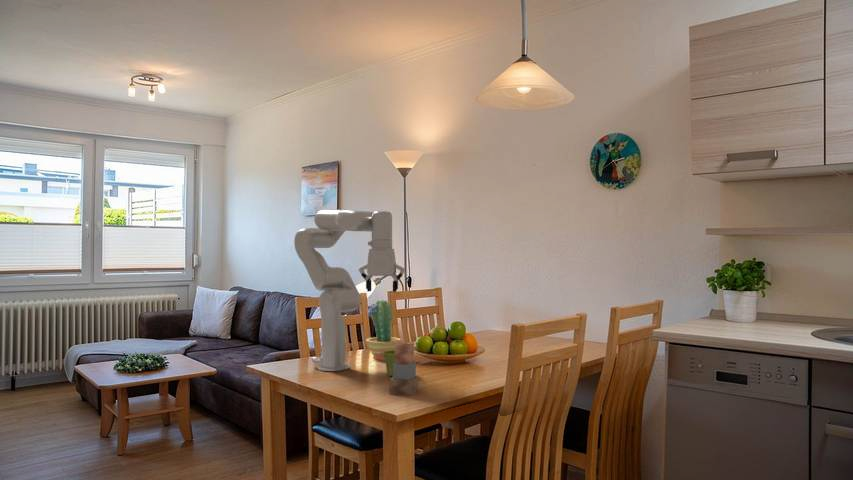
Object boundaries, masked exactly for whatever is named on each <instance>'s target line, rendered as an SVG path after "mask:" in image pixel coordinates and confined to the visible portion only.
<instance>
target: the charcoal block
mask: <svg viewBox="0 0 853 480" xmlns="http://www.w3.org/2000/svg"><path fill="white" fill-rule="evenodd" d="M416 364H417V362H416V361H414V362H412V363H411V364H395V363H394V364H393V376H392V377H393V379H400V380H411V379H413V378H414V377H415V376H416V375H417V370H416V369H417V365H416Z"/></svg>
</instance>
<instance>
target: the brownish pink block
mask: <svg viewBox="0 0 853 480" xmlns="http://www.w3.org/2000/svg"><path fill="white" fill-rule="evenodd" d="M414 345H415V344H414V343H404V342H400V343H399V344H397V345H395V364H411V363H412V362H415V355H414V353H415V349H414Z"/></svg>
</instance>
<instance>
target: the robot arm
mask: <svg viewBox="0 0 853 480" xmlns="http://www.w3.org/2000/svg"><path fill="white" fill-rule="evenodd" d="M313 221H314V224H315V226H316V227H305V228H302V229H300V230H298V231H297V232H296V233H295V236H294V240H293V243H294V249H295V250H294V251H295V252H296V255H297V257H298V258H299V259H300V261H301V262H302V264H303V266H304V268H305V269H306V272H307V273H308V275H309V278H310V280H311V282H312V284H313V286H314V287H315V289H316V290H318V291H321V294H320V295H319V298H318V307H319V311H320V319H321V320H320V323H321V324H320V325H321V344H320V345H321V351H320V352H321V356H319V357H316V356H313V357H312V358H311V362H312V363H313V364H318V365H317V370H319V371H323V372H340V371H346V370H348V369H349V368H350V364H349V363H347V362H346V322H345V319H344V317H343V315H342V313H347V312H354V311H356V310H358V309H359V307H360V306H361V296H360V293H359V291H358V288H357V286H356V285H355V282H354V281H353V279H352V277H351V274H350V273H349V272H348V271H347V270H346V268H343V267H339V266H338V267H337V266H333V267H332V266H329V265H328V263H327V261H326V259H325V258H324V256H323V255H322V254H321V253H320V252H319V251H317V250H316V249H329V248H332V247H334V246H335V245H336V244H337V242H338V241H339V240H340V239H341V237H342V236H343V235H344V233H346V232H370V233H371V240H370V241H368V242H367V246H370V247H371V248H369V250H368V254H367V255H368V256H367V264H365V265H364V266H361V267H360V268H358V271H359V273H360V275H361V277H363V279H364V281H365V289H366V292H368V293H369V292H372V280H371V279H372V277H373V276H375V277H376V276H377V277H384V276H385V277H387V276H389V277H391V278H392V279H393V280H392V292H393V293H396V292H397V290H399V280H400V279H401V278H402V277H403V275H404V274H405V271H406V268H405V267H403V266H401V265H399V264H397V261H396V254H395V249H394V248H393V213H391V212H390V211H386V210H384V211H382V210H381V211H380V210H379V211H377V210H376V211H363V210H347V209H322V210H319V211H318V212H317V213H315V215H314V220H313ZM365 270H366V271H367V274H366V272H365ZM397 270H399V274H397Z"/></svg>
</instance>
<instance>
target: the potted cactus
mask: <svg viewBox="0 0 853 480" xmlns="http://www.w3.org/2000/svg"><path fill="white" fill-rule="evenodd" d="M367 314H368V317H370V318H371V320H372V323H373V326H374V330H375V334H376V336H375V337H374V336H373V337H368V338H366V339H365V340H366V344H367V345H368V347H369V351H370V352H371V354H372V355H373V357H372V358H373V360H380V361H383V360H385V358H384V354H383V352H384V351H389V350H395V345H397V344H399V343H401V341H402V340H401V338H399V337H395V336H393V337H392V334H391V333H392V332H391V322H392V319H393V309H392V307H391V305H390V304H389V302H388V301H387V300H377V301H376V302H375V303H372V304H370V305H369V307H368V309H367Z"/></svg>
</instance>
